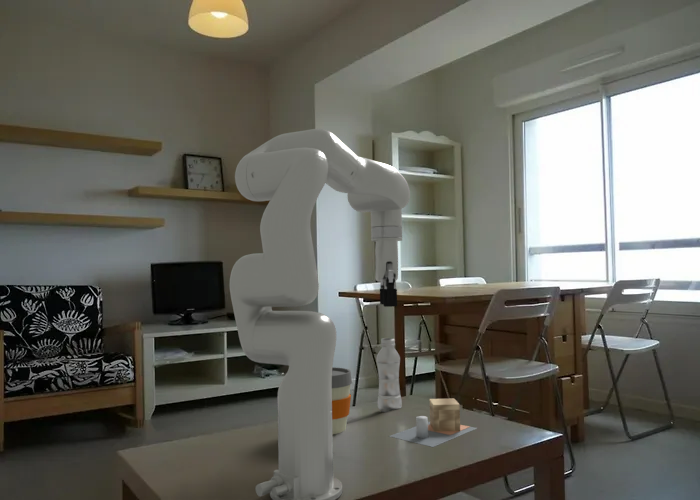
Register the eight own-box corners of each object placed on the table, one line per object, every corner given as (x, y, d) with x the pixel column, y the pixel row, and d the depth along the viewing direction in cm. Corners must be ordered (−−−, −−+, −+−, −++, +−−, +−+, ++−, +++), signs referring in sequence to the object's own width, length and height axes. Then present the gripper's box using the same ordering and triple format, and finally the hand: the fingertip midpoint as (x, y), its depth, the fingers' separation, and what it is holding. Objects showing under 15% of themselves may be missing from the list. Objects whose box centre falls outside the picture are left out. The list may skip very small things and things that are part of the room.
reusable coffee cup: (361, 439, 125) (359, 373, 126) (309, 446, 121) (307, 378, 121) (341, 425, 137) (340, 365, 138) (293, 431, 132) (292, 369, 133)
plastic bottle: (400, 415, 145) (398, 340, 146) (375, 414, 147) (374, 340, 147) (403, 409, 152) (401, 337, 152) (379, 409, 153) (377, 337, 154)
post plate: (433, 454, 114) (432, 426, 114) (388, 442, 122) (388, 417, 122) (477, 434, 127) (477, 409, 127) (435, 425, 135) (434, 402, 135)
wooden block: (434, 431, 125) (433, 404, 125) (430, 424, 131) (429, 399, 131) (460, 430, 125) (459, 404, 125) (455, 423, 131) (454, 398, 131)
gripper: (369, 237, 141) (370, 303, 141) (373, 232, 124) (375, 307, 123) (398, 237, 141) (399, 303, 141) (406, 231, 124) (408, 307, 123)
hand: (388, 305), depth 132 cm, fingers open, 9 cm apart
